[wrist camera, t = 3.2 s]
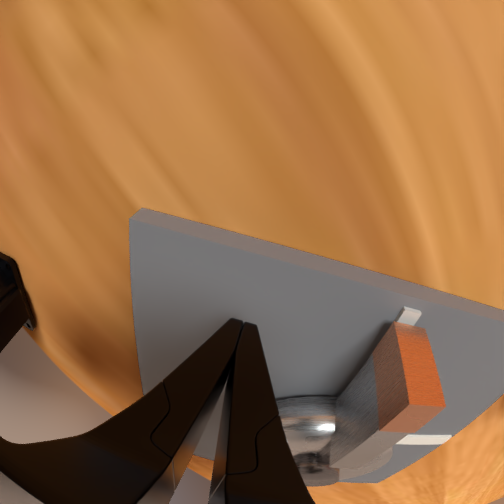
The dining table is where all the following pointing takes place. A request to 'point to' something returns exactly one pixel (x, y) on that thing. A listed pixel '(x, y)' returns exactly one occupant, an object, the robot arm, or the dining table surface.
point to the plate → (303, 322)
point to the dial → (366, 411)
